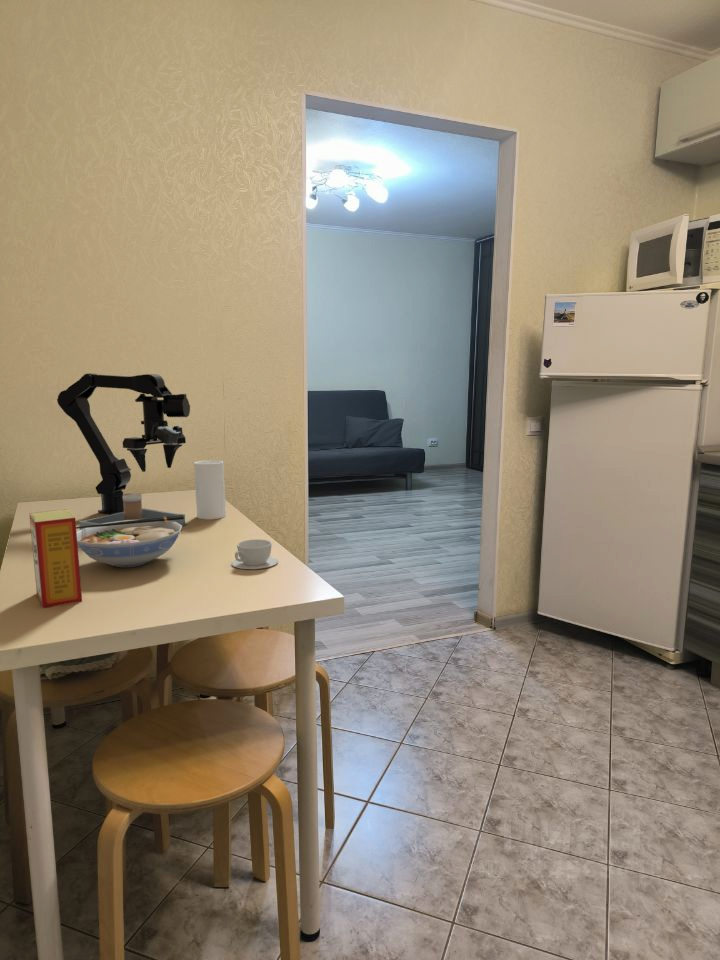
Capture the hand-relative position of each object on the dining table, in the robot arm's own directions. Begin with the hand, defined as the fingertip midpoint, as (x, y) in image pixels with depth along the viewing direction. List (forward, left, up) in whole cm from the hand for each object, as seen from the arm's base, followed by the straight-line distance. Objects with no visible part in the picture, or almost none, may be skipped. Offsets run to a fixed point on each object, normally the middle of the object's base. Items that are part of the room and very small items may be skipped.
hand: (156, 469), depth 195 cm
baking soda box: (+44, -62, -13) cm, 77 cm away
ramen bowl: (+37, -40, -13) cm, 56 cm away
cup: (+18, +4, -13) cm, 23 cm away
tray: (+11, -18, -13) cm, 25 cm away
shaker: (+11, -18, -12) cm, 25 cm away
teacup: (+61, -27, -13) cm, 68 cm away
